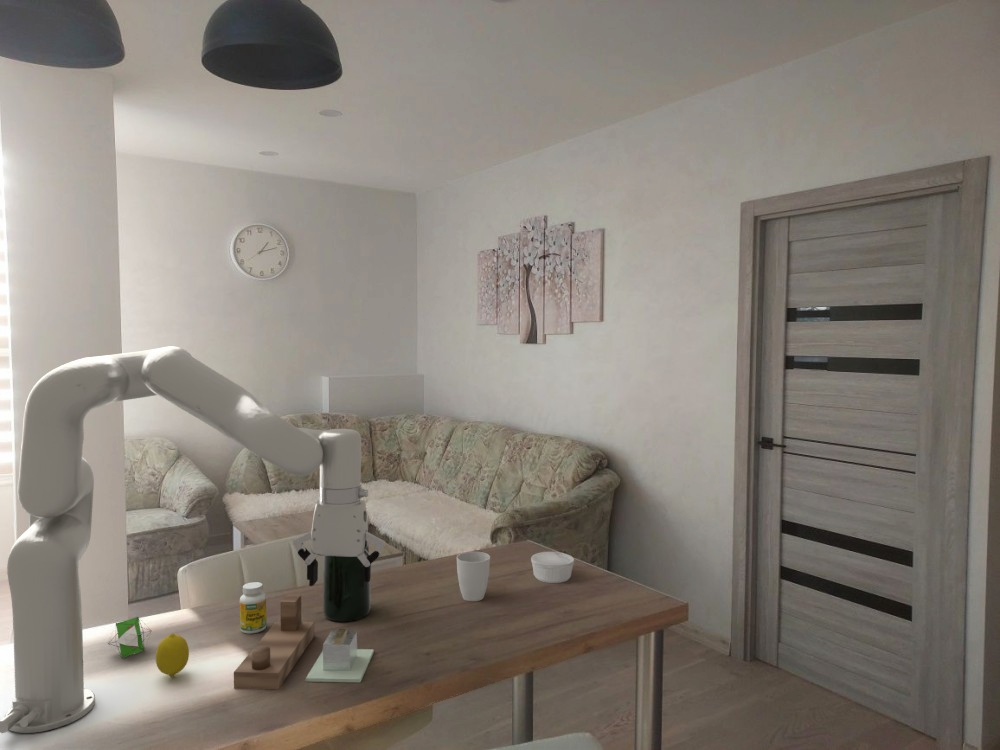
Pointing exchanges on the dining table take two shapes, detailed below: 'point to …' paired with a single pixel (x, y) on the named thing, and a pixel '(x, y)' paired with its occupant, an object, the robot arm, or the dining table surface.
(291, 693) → the dining table surface
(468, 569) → the cup
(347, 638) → the white block
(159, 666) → the lemon
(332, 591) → the dark green wine bottle
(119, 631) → the geometric puzzle
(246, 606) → the supplement bottle
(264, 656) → the tan board with knob
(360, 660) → the mat
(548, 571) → the ramekin
